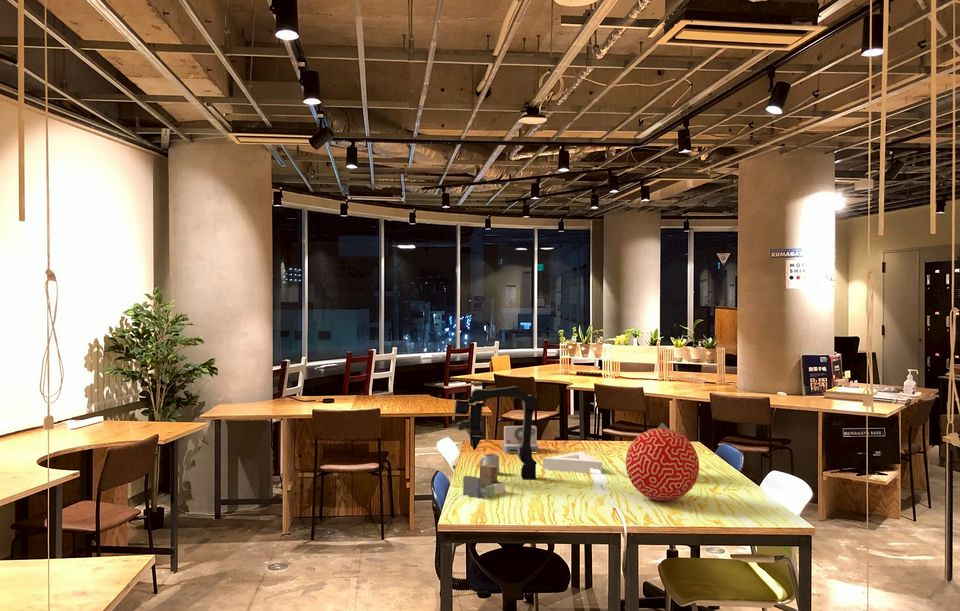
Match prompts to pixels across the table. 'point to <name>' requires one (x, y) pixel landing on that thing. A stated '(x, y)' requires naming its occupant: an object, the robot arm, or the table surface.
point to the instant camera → (517, 439)
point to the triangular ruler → (572, 462)
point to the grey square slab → (472, 486)
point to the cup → (491, 460)
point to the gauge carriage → (488, 475)
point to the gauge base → (493, 489)
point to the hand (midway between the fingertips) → (473, 448)
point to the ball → (662, 464)
